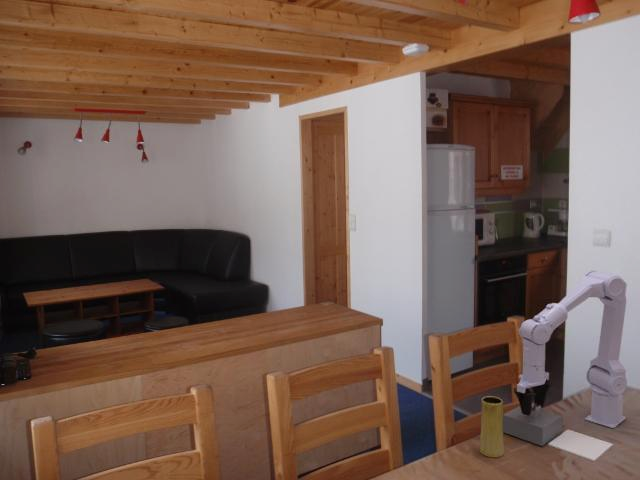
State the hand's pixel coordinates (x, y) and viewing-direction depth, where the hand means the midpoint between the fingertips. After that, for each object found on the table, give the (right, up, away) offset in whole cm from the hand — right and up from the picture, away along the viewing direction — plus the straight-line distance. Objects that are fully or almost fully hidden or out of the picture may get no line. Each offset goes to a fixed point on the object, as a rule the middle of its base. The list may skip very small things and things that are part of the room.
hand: (532, 410), depth 153 cm
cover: (0, -6, 0) cm, 6 cm away
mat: (+10, -7, -7) cm, 14 cm away
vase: (-15, -8, -10) cm, 19 cm away
